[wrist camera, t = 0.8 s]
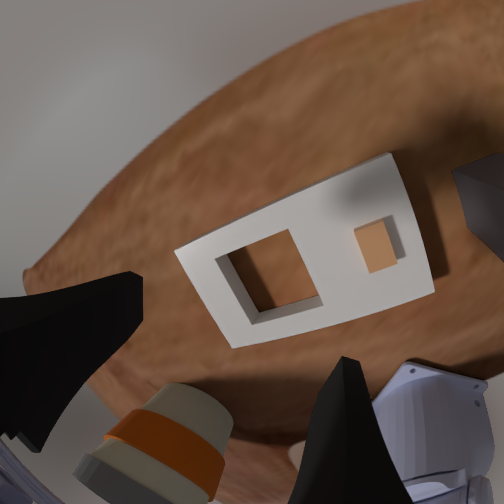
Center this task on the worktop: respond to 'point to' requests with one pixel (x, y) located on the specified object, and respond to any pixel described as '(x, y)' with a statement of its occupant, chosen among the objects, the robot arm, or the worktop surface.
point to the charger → (484, 199)
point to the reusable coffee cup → (162, 451)
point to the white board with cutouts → (319, 254)
